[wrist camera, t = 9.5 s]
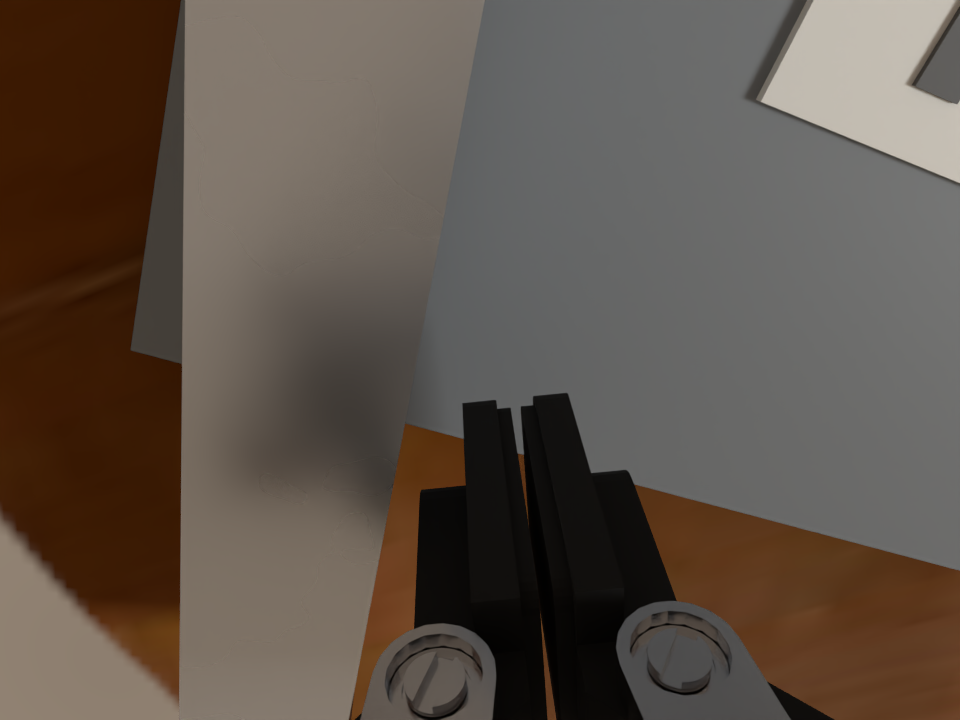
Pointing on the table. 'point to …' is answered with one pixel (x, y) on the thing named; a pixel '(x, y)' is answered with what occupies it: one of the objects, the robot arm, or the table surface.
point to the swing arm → (302, 326)
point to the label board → (696, 252)
